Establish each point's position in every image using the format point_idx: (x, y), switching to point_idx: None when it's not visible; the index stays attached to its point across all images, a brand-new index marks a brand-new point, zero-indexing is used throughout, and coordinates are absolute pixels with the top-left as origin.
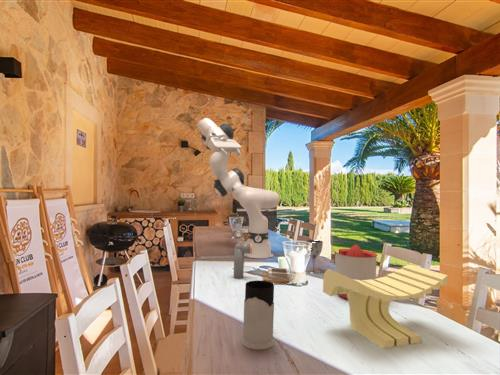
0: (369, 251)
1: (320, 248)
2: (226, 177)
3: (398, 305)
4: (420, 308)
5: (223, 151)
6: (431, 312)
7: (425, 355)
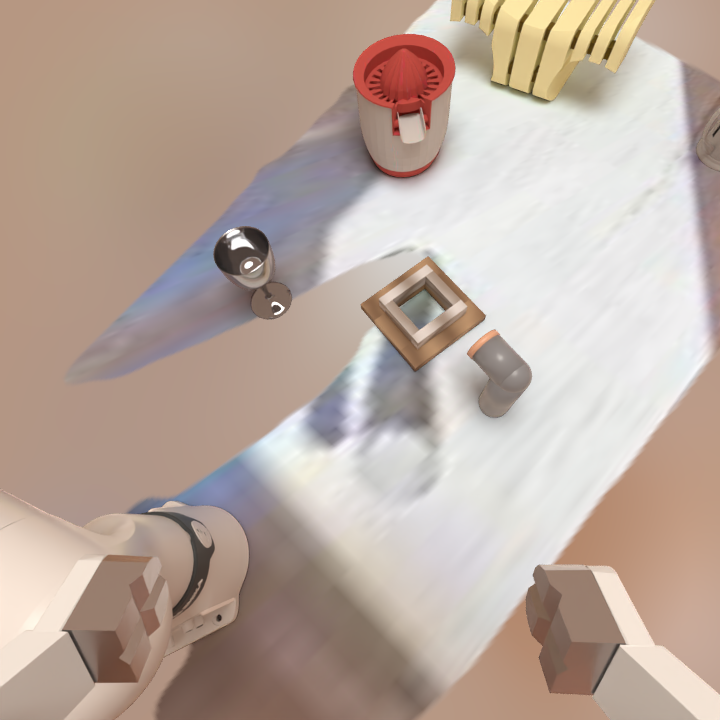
0: (358, 60)
1: (255, 239)
2: None
3: None
4: None
5: (704, 697)
6: None
7: None
